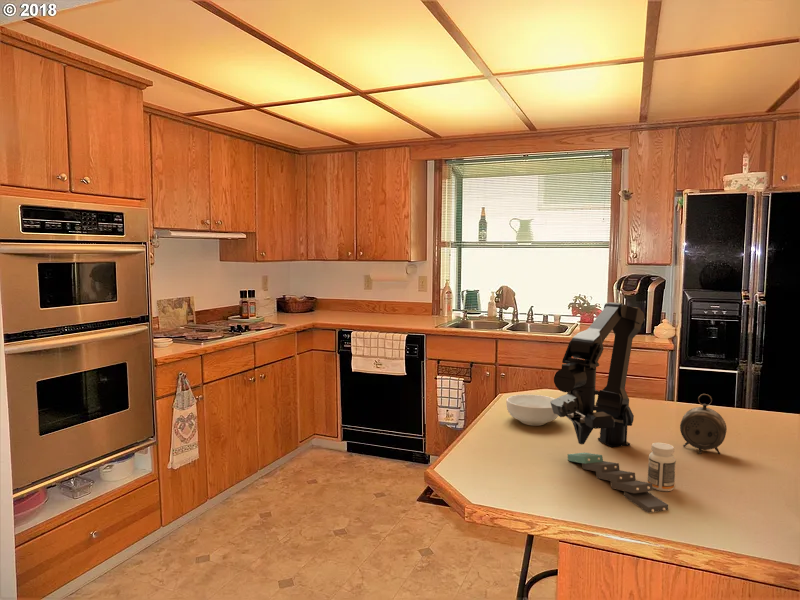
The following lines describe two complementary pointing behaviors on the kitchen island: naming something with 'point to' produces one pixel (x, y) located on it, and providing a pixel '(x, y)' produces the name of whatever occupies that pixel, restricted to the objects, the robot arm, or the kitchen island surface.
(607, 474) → the domino
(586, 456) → the domino
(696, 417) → the alarm clock
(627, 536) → the kitchen island surface
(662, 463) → the pill bottle
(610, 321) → the robot arm
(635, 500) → the domino
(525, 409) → the cereal bowl
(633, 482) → the domino
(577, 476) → the kitchen island surface
